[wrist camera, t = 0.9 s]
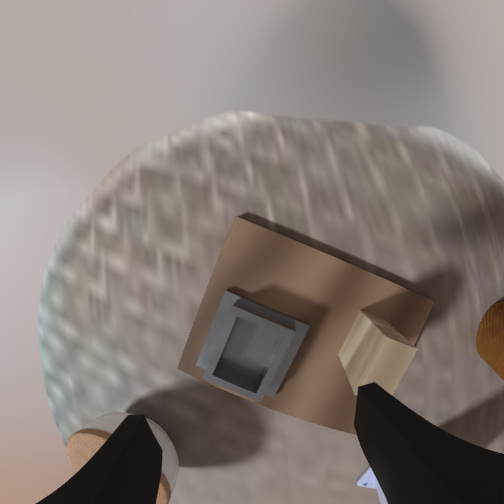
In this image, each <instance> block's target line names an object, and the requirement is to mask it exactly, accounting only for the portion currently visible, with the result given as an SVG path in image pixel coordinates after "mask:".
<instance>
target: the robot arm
mask: <svg viewBox="0 0 504 504" xmlns="http://www.w3.org/2000/svg"><path fill="white" fill-rule="evenodd" d="M354 427H355V430H356V433H357V436H358V439H359V442H360V445H361V448H362V450H363V452H364V454H365V457H366V459H367V461H368V463H369V465H370V468H369V469H368V470H367V471H366V472H365V473H364V475H363V476H362V477H361V478H360V479H359V480H358V481H357V485H358V486H361V487H368V488H376V489H377V492H378V496H379V499H380V503H381V504H504V454H502V453H498V452H495V451H491V450H488V449H485V448H482V447H479V446H476V445H473V444H471V443H468V442H466V441H464V440H462V439H459V438H457V437H455V436H453V435H451V434H449V433H447V432H445V431H443V430H442V429H440V428H438V427H437V426H435V425H433V424H432V423H430V422H428V421H427V420H425V419H424V418H422V417H421V416H419V415H418V414H417V413H415V412H414V411H412V410H411V409H409V408H408V407H407V406H405V405H404V404H403V403H401V402H400V401H399V400H397V399H396V398H395V397H393V396H392V395H391V394H390V393H388V392H387V391H386V390H384V389H383V388H382V387H381V386H379V385H378V384H377V383H375V382H373V383H369V384H366V385H362V386H358V392H357V402H356V411H355V420H354ZM162 453H163V450H162V448H161V446H160V444H159V443H158V441H157V439H156V437H155V435H154V433H153V432H152V430H151V428H150V426H149V424H148V422H147V420H146V418H145V416H144V415H128V416H127V417H126V418H125V419H124V420H123V421H122V423H121V424H120V425H119V426H118V427H117V429H116V430H115V431H114V432H113V433H112V434H111V436H110V437H109V438H108V439H107V440H106V442H105V443H104V444H103V445H102V446H101V447H100V449H99V450H98V451H97V452H96V453H95V454H94V455H93V456H92V458H91V459H90V460H89V461H88V462H87V463H86V464H85V465H84V466H83V467H82V468H81V469H80V470H79V471H78V472H77V473H76V474H75V475H74V476H73V477H72V478H70V479H69V480H68V481H67V482H66V483H65V484H63V485H62V486H61V487H60V488H58V489H57V490H56V491H54V492H53V493H52V494H50V495H49V496H47V497H45V498H44V499H43V500H41V501H39V502H38V503H36V504H156V500H157V495H158V490H159V484H160V479H161V472H162ZM364 483H365V484H364Z"/></svg>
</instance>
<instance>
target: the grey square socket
mask: <svg viewBox="0 0 504 504" xmlns="http://www.w3.org/2000/svg"><path fill="white" fill-rule="evenodd" d="M309 326H310V324H309V323H307V322H304V321H302V320H299V319H297V318H295V317H292V316H290V315H287V314H285V313H282V312H280V311H277V310H275V309H273V308H270V307H268V306H265V305H263V304H261V303H258V302H256V301H253V300H251V299H249V298H246V297H244V296H242V295H239V294H237V293H235V292H232V291H230V290H228V289H226V290H225V293H224V295H223V298H222V300H221V303H220V305H219V308H218V310H217V313H216V315H215V318H214V320H213V323H212V325H211V328H210V330H209V333H208V335H207V338H206V341H205V343H204V346H203V348H202V351H201V353H200V356H199V358H198V361H197V364H196V365H197V366H199V367H201V368H203V369H205V370H206V371H205V373H204V376H203V378H204V379H206V380H208V381H210V382H213V383H215V384H217V385H219V386H222V387H224V388H226V389H229V390H231V391H234V392H236V393H238V394H241V395H243V396H246V397H248V398H251V399H253V400H256V401H259V402H261V400H262V398H263V396H264V395H268V396H270V397H273V398H274V396H275V394H276V392H277V390H278V388H279V386H280V385H281V383H282V381H283V379H284V377H285V375H286V373H287V371H288V369H289V367H290V365H291V363H292V361H293V359H294V357H295V355H296V353H297V351H298V349H299V347H300V345H301V343H302V341H303V339H304V337H305V335H306V333H307V331H308V329H309Z"/></svg>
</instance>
